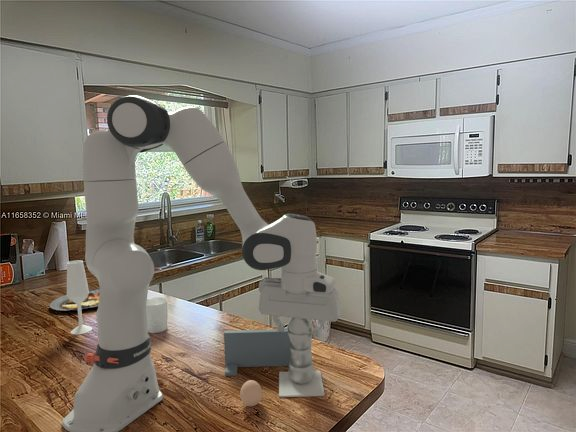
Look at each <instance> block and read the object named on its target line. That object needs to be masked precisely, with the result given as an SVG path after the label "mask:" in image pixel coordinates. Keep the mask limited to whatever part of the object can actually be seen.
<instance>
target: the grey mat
mask: <svg viewBox="0 0 576 432" xmlns="http://www.w3.org/2000/svg"><path fill="white" fill-rule="evenodd" d="M278 373H279V375H278V398H294V397H295V398H300V397H301V398H302V397H305V398H306V397H325V396H326V395H325V389H324V385H323V378H322V373H321V370H314V377H313V379H312V380H311V381H310V382H308V383H305V384H298V383H295V382H293V381H292V380H291V378H290V376H289V371H279V372H278Z"/></svg>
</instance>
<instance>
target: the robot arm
mask: <svg viewBox="0 0 576 432" xmlns="http://www.w3.org/2000/svg"><path fill="white" fill-rule="evenodd" d="M106 123H107V127H108V129H101V130H100V129H99V130H96V131H94V132H91V133H90V134H88V135H87V136H86V137H85V140H84V144H83V151H82V153H83V154H82V178H83V189H84V200H85V209H86V210H85V211H86V213H85V214H86V228H85V229H86V230H85V253H84V260H85V264H86V266H87V270H88V271H89V272H90V273H91V275H93V276H94V277H95V278H96V279H97V281H98V285H99V289H100V295H99V305H98V306H97V310H96V313H95V315H96V327H97V329H96V330H97V335H98V336H97V337H98V343H97V345H96V351H95V353H91V352H88V353H86V355H85V357H84V360H85V362H86V363H93V366H92V367H91V369H90V370H89V371H88V374H87V375H86V377H85V378H84V380H83V381H82V383H81V385H80V386H79V388H78V389H77V390H76V392H75V394H74V397H73V408H72V410H71V411H69V413H68V414H67V415H66V416H65V417H64V418H63V419H62V421H61V422H62V423H61V425H62V427H63V429H64V430H65V431H68V432H121V430H123V429H124V428H125V427H127V426H129V425H130V423H132V422H134V421H135V420H136V419H138V418H139V417H140V416H142V415H143V414H144V413H146V412H148V411H149V410H150V409H151V408H153V407H154V406H156V405H157V404H159V402H161V401H162V400H163V399H164V397H163V396H164V395H163V392H162V391H161V390H160V386H159V383H158V377H157V370H156V367H155V364H154V361H153V359H152V356H151V351H152V342H151V336H150V333H149V332H148V328H147V313H146V303H147V299H148V293H149V289H150V283H151V282H152V279H153V278H154V275H155V264H154V261H153V259H152V258H151V255H149V253H148V252H147V250H146V249H145V248H143V247H142V246H141V245H139V244H136V243H135V238H134V237H135V227H136V220H137V217H138V216H139V198H138V184H137V174H136V158H137V155H138V154H139V153H140V154H141V153H145V152H148V151H151V150H154V149H157V148H159V147H162V146H163V145H165V146H167V147H169V148H170V149H171V150H172V151H173V152H174V154H175V155H176V156H177V158H178V159H179V161H180V163H181V164H182V166H183V168H184V169H185V171H186V172H187V174H188V175H189V177H190V178H191V179H192V180H193V182H194V183H196V185H197V186H198V187H199V189H201V190H202V191H204V192H206V193H208V194H209V195H212V196H213V197H215V198H216V199H218V201H220V202H221V203H222V205H223V206H224V207H225V208H226V210H227V212H228V213H229V215H230V216H231V218H232V220H233V222H234V223H235V224H236V226H237V228H238V229H239V231H240V235H241V243H242V244H241V255H242V259H243V260H244V262H245V264H247V266H249V267H250V268H251V269H254V270H256V271H268V270H274V269H278V268H280V278H279V277H278V278H277V277H264V278H263V279H262V278H261V280H260V281H259V283H258V291H259V293H260V294H259V301H258V311H259V313H260V314H261V315H265V316H272V321H273V322H274V324H275V326H276V329H277V332H282V333H283V332H284V330H285V329H286V328H285V327H286V326H285V323H282V321H281V319H280V317H287V318H291V317H294V318H303V319H310V320H313V321H315V320H316V321H318V322H317V324H319V326H318V327H316V326H315V327H314V328H313V337H317V338H320V337H321V335H322V328H323V327H324V326H325V323H326V322H336V321H338V319H339V318H340V316H341V303H340V302H341V301H340V296H339V292H338V290H337V289H336V288H335V287H336V278H335V277H334V276H333V277H332V276H330V275H327V274H325V273H323V272H320V271H318V270H317V269H318V265H317V264H316V263H317V262H316V255H317V252H318V250H317V249H318V245H317V243H318V242H317V241H318V240H317V229H316V224H315V222H314V221H313V220H312V219H311V218H310V217H308V216H305V215H303V214H298V213H285V214H283V215H282V217H280V218H278V219H277V220H275V221H273V222H272V223H270V222H268V221H266V220H265V219H264V218H262V216H261V215H260V214H259V212H258V211H257V209H256V207H255V206H254V204H253V203H252V201H251V199H250V198H249V196H248V194H247V193H246V191H245V188H244V186H243V184H242V181H241V177H240V173H239V169H238V166H237V164H236V161H235V159H234V156H233V154H232V152H231V150H230V148H229V146H228V145H227V143H226V140H225V139H224V138H223V136H222V135H221V133H220V131H218V128H217V127H216V126H215V125H214V123H213V122H212V121H211V120H210V119H209V117H208V116H207V115H206V114H205V113H204V111H202V110H201V109H200V108H198V107H195V106H186V107H185V106H184V107H181V108H179V109H177V110H176V111H173V112H169V111H167V109H166V108H164V106H162V105H160V104H159V103H158V102H156V101H154V100H152V99H150V98H145V97H143V96H140V95H126V96H123V97H119V98H118V99H115V101H114V102H112V104H111V105H110V107H109V109H108V111H107V116H106Z"/></svg>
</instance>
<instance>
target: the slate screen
mask: <svg viewBox="0 0 576 432" xmlns="http://www.w3.org/2000/svg"><path fill="white" fill-rule="evenodd" d="M223 344H224V365H225V367H224V368H225V370H224V376H225V377H227V376H228V377H229V376H231V377H232V376H237V375H238V374H237V373H238V369H239V368H248V367H249V368H251V367H253V368H254V367H285V366H286V367H287V366H288V367H289V363H290V341H289V335H288V330H287V328H285V330H284V332H283V333H282V332H277V328H276V329H275V328H274V329H239V330H236V329H235V330H224V331H223Z"/></svg>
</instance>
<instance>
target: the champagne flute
mask: <svg viewBox="0 0 576 432" xmlns="http://www.w3.org/2000/svg"><path fill="white" fill-rule="evenodd" d="M89 290H90V289H89V285H88V279H87V275H86V271H85V265H84V261H83V259H82V260H81V259H80V260H71V261H68V262H66V295H67V297H68V298H69V299H70V300H71V301H73V302H74V303H77V308H78V310H77V317H78V326H76V327H75V328H73V329H72V330H70V334H72V335H82V334H86V333H88V332H91V331H92V330H93V327H92V326H89V325H86V324H84V322H83V321H84V320H83V313H82V310H83V309H81V302H83V301H84V300H85V299H86V298H87V296H88V294H89Z"/></svg>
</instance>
